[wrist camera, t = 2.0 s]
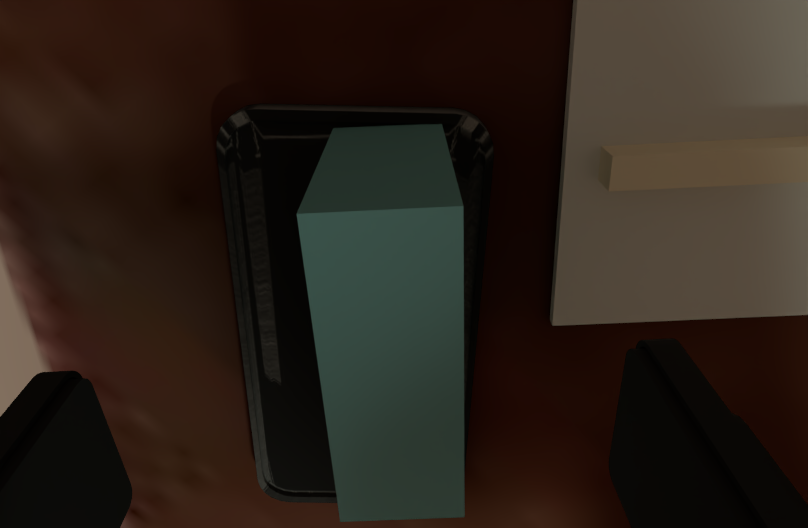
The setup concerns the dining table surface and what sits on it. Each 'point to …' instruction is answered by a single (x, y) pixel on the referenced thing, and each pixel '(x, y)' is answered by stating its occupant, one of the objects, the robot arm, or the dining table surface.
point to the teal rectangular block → (389, 319)
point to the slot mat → (683, 162)
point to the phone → (285, 276)
